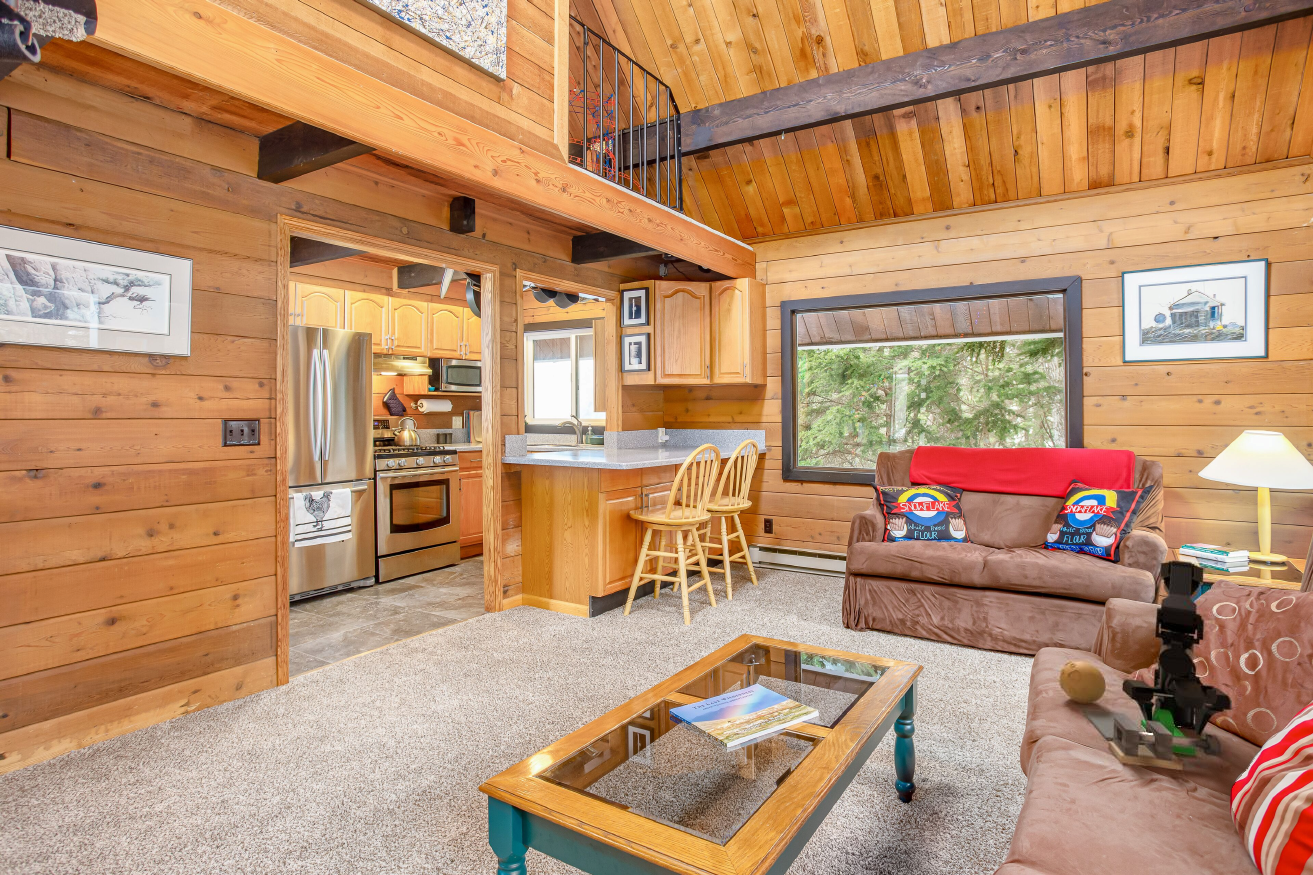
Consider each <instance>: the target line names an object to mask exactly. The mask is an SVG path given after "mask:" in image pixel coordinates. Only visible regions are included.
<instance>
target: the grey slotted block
mask: <svg viewBox="0 0 1313 875" xmlns="http://www.w3.org/2000/svg"><path fill="white" fill-rule="evenodd" d="M1145 733H1154V734H1155V744H1152V743H1145V744H1143V745H1142V744H1140V743H1139V730H1138V729H1137V728H1136V727H1135V726H1134V725H1133V724H1132V723H1131V722H1130V721H1129V720H1128V719H1127V718H1119V717H1114V732H1113V740H1108V750H1109V751H1110V752H1111V753H1112V755H1113V756H1115V758H1116V759H1117V760H1118V761H1119V763H1120V764H1121V763H1122V764H1129V765H1136V766H1137V765H1138V766H1144V767H1145V766H1146V767H1153V768H1160V769H1162V768H1163V769H1169V770H1170V769H1171V770H1178V771H1183V762H1182V760H1180V759H1179V758H1178V757H1177V756H1176V755H1175V754H1174V752H1172V743H1173V734H1172V733H1171V732H1169V731H1168V730H1167V729H1166V728H1165V727H1164V726H1163V725H1162V724H1161V723H1160V722H1156V721H1147V720H1146V732H1145Z"/></svg>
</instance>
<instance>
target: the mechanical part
mask: <svg viewBox="0 0 1313 875" xmlns="http://www.w3.org/2000/svg"><path fill="white" fill-rule="evenodd" d="M1152 716H1153V721H1156V722H1160V723H1161V724H1162V725H1163V726H1164V727H1165V728H1166V729H1167V730H1168V731H1169V732H1171V733H1172V734H1173V736H1181V737H1186V736H1185V734H1183V732H1182V731H1180V729H1178V727H1175V726H1174V721H1173V717H1172V715H1171V713H1170V711H1168V710H1162V709H1155V708H1154V710H1153V712H1152ZM1141 725H1142V726H1143V727H1144V728H1145V729H1146V722H1145V719H1144V718H1141V719H1140V726H1141ZM1196 752H1197V749H1196V748H1187V747H1178V746H1172V753H1177V754H1183V755H1190V756H1191V755H1192V756H1196Z"/></svg>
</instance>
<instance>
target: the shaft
mask: <svg viewBox="0 0 1313 875" xmlns="http://www.w3.org/2000/svg"><path fill="white" fill-rule="evenodd" d="M1139 742H1143V743H1152V744H1155V734H1154V733H1146V732H1145V731H1144V732H1143V731H1142V732H1139ZM1172 746H1178V747H1187V748H1196V750H1202V751H1203V752H1204V753H1205V755H1206V756H1210V757H1211V756H1213V757H1219V756H1220V755H1221V753H1222V752H1221V751H1222V747H1221V742H1220V740H1219V738H1218V736H1216V735H1215V734H1209V733H1202V734H1201V738H1197V737H1188V736H1185V737H1181V736H1173V743H1172Z"/></svg>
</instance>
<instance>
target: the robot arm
mask: <svg viewBox="0 0 1313 875" xmlns="http://www.w3.org/2000/svg"><path fill="white" fill-rule="evenodd" d="M1159 577H1160V580H1161V581H1163V589H1164V591H1165V593H1166V594H1167V596H1166V597H1164V598H1163V599H1162V600H1161V604H1160V607H1156V619H1155V621H1156V622H1155V635H1154V636H1155V638H1158V639H1160V640H1161V641H1160V650H1159V655H1158V661H1157V667H1158V668H1155V667H1154V676H1153V677H1154V679H1153V686H1150V685H1149V684H1148V683H1146V681H1144V680H1140V679H1128V678H1127V679H1125V680H1124V681H1123V682H1122V688H1121V689H1122V692H1124V693H1125V694H1126V695H1127V696H1128V697H1129V698H1130V699H1131V700H1133V701H1135V702H1136V703H1137V705H1138V707H1139V709H1140V711H1141V713H1142V714H1141V715H1142V716H1143V719H1145V722H1146V720H1147V721H1153V708H1154V710H1155V709H1162V710H1168V711H1170V713H1171V715H1172V717H1173V721H1174V725H1175V726H1181V727H1180V728H1185V727H1186V728H1187V729H1195V734H1196V735H1197V736H1202V734H1203V732H1204V731H1205V728H1206V726H1207V725H1208V722H1209V721H1210V719H1211V718H1212V717H1213V716H1214V715H1216V714H1218V713H1224V712H1225V710H1229V711H1230V710H1232V704H1233V703H1232V702H1233V701H1232V700H1231V699H1232V698H1231V697H1230V696H1229V695H1228V694H1227V693H1225V692H1224V691H1222V690H1221V689H1219V688H1218V687H1215V686H1214V685H1206V684H1203V682H1202V681H1201V679H1200V678H1201V677H1200V676H1197V666H1196V664H1195V662H1194V653H1195V652H1194V650H1195V645H1197V646H1198V645H1200V641H1204V630H1205V629H1204V628H1205V627H1204V625H1205V624H1204V622H1205V620H1204V619H1203V618H1202V615H1201V613H1197V611H1198V610H1197V608H1198V607H1197V606H1198V605H1197V604H1196V603H1195V602H1194V601H1193V600H1194V599H1195V598H1196V597H1197V596H1198V595H1199V593H1200V585H1201V586H1203V585H1204V568H1203V567H1201V566H1198V565H1197V564H1195V563H1192V562H1191V561H1181V560H1169V561H1166V562H1161V563H1160V574H1159ZM1160 629H1161V630H1160ZM1195 635H1196V637H1195ZM1154 697H1156V698H1155V700H1154ZM1152 700H1154V701H1155V702H1153V701H1152Z"/></svg>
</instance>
